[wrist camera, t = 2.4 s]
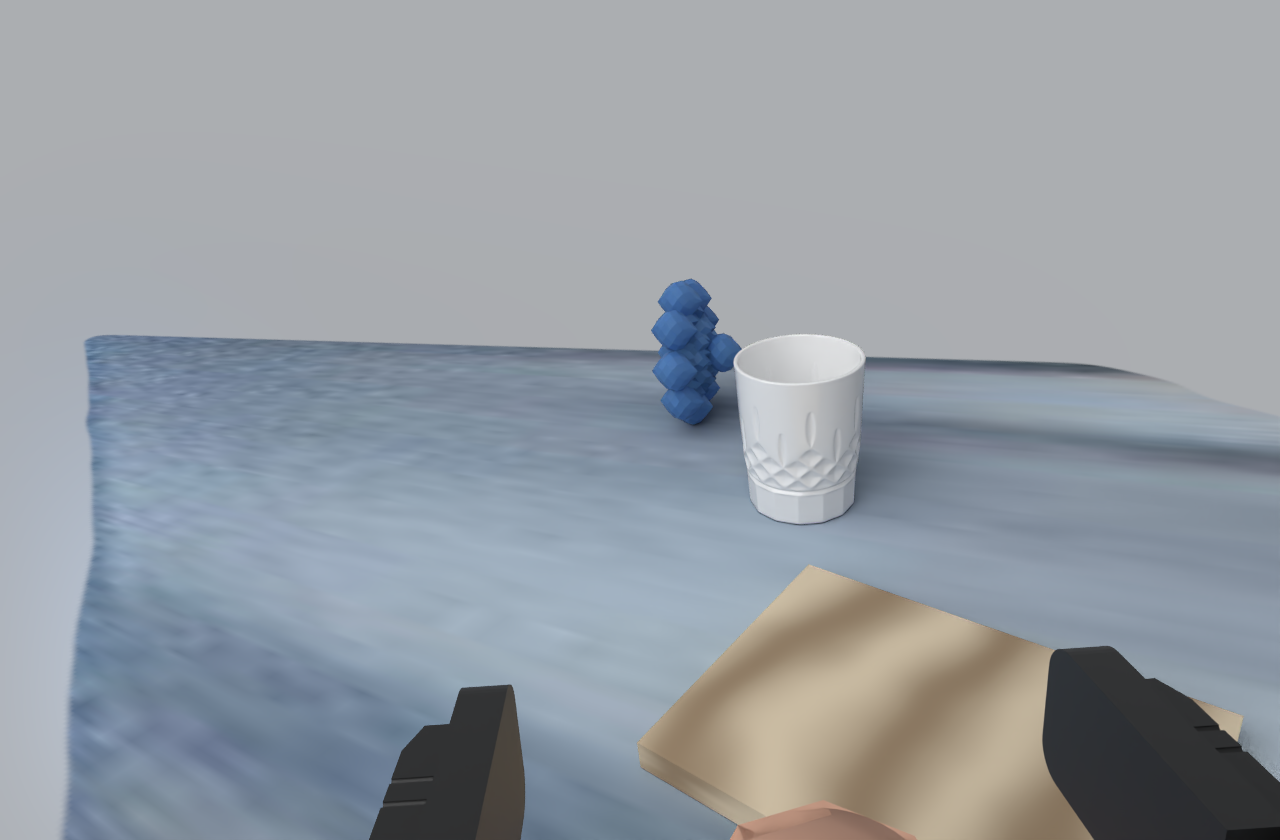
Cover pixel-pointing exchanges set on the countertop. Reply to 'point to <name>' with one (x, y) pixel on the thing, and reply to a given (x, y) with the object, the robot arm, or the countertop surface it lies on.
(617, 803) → the countertop surface
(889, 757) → the oak board
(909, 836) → the salmon octagonal post
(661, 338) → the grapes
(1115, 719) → the robot arm
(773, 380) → the white cup
